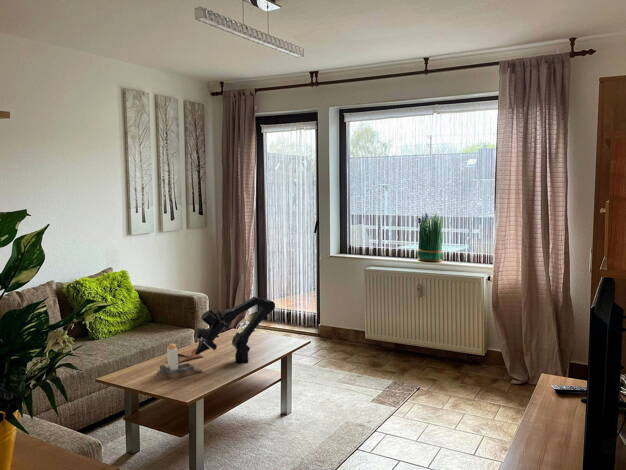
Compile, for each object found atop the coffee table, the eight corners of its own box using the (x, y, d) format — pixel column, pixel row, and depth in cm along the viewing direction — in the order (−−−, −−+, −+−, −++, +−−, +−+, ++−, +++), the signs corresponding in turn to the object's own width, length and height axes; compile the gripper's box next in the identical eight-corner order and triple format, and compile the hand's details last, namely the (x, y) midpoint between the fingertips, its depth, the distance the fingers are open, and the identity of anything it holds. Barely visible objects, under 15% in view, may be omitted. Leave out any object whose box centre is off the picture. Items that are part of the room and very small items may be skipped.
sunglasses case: (177, 364, 293) (173, 352, 295) (171, 368, 298) (167, 356, 300) (204, 356, 306) (201, 345, 308) (199, 360, 310) (195, 349, 312)
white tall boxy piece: (175, 368, 281) (174, 341, 280) (178, 371, 277) (177, 344, 276) (167, 370, 279) (166, 342, 278) (170, 373, 275) (169, 345, 274)
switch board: (195, 366, 290) (194, 358, 290) (202, 372, 280) (202, 364, 280) (157, 372, 280) (157, 364, 280) (163, 379, 270) (163, 371, 270)
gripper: (198, 318, 293) (179, 341, 288) (210, 325, 277) (190, 350, 272) (212, 330, 298) (194, 353, 293) (225, 338, 281) (205, 362, 277)
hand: (195, 354), depth 284 cm, fingers closed
